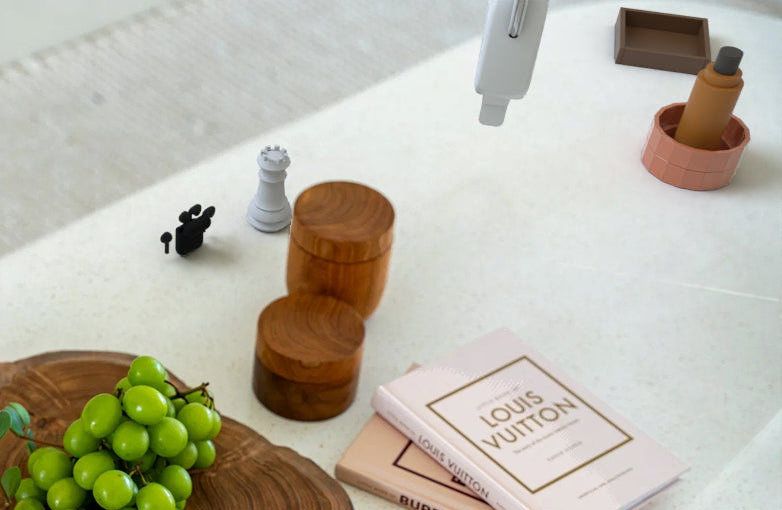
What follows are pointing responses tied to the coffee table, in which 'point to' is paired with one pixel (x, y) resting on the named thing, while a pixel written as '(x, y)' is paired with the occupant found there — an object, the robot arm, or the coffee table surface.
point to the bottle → (712, 101)
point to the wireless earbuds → (189, 230)
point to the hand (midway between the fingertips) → (495, 87)
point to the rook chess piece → (271, 192)
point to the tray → (662, 41)
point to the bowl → (692, 153)
